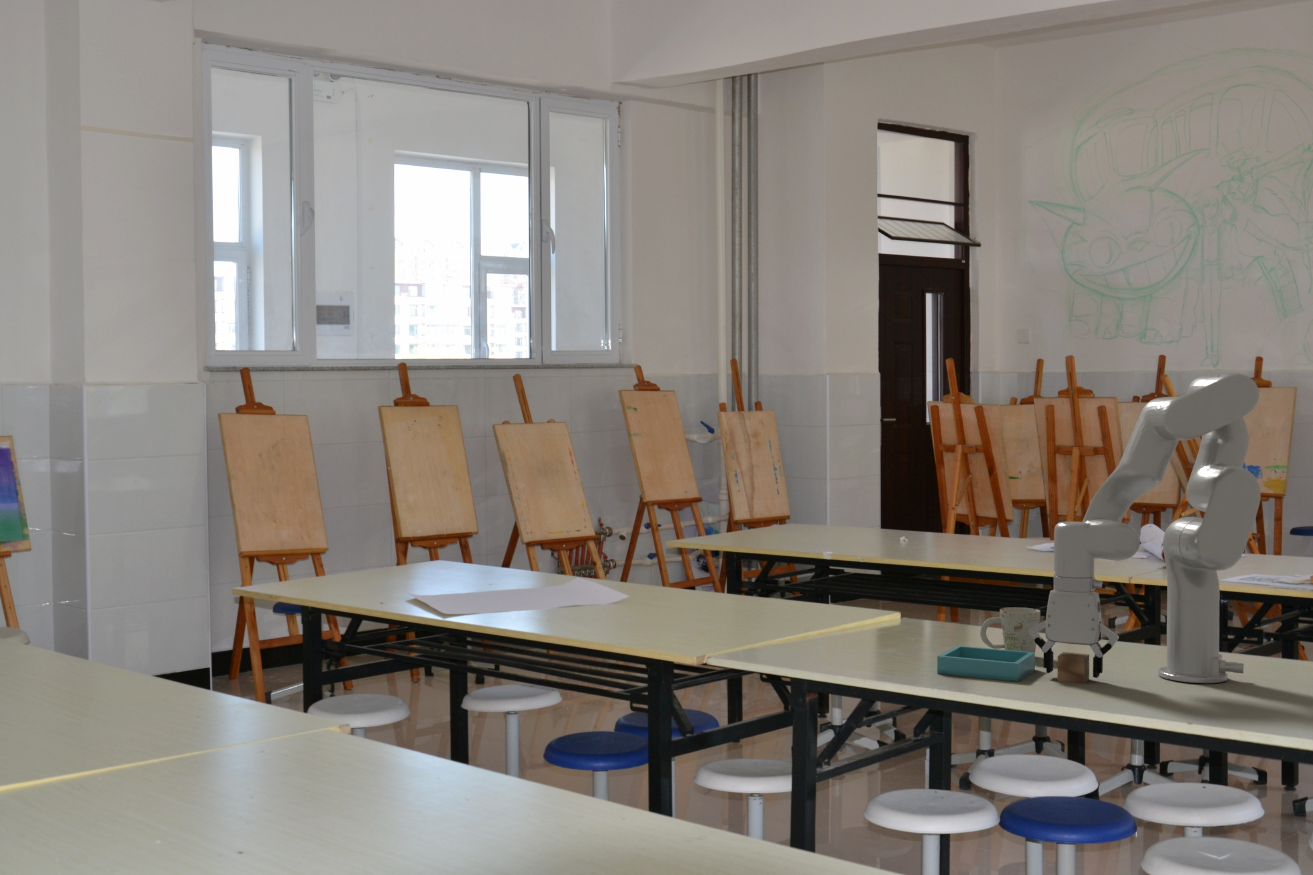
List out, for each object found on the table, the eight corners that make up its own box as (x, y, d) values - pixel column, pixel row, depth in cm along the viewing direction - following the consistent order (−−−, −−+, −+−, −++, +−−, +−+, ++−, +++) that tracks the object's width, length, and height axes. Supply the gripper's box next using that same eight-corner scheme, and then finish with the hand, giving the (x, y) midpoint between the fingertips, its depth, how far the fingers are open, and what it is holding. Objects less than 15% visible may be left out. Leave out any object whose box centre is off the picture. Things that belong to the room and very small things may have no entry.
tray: (1034, 669, 260) (1034, 652, 260) (1018, 681, 248) (1018, 663, 248) (957, 662, 268) (957, 645, 268) (937, 673, 256) (937, 656, 256)
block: (1089, 679, 251) (1089, 654, 250) (1084, 684, 246) (1084, 658, 246) (1062, 677, 253) (1063, 651, 253) (1057, 681, 249) (1057, 655, 249)
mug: (1044, 660, 270) (1045, 613, 270) (985, 660, 270) (985, 612, 270) (1034, 653, 279) (1034, 607, 278) (976, 652, 279) (976, 607, 279)
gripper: (1123, 586, 248) (1122, 675, 249) (1032, 580, 257) (1032, 666, 257) (1117, 590, 242) (1116, 682, 242) (1023, 584, 250) (1023, 672, 251)
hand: (1072, 673), depth 250 cm, fingers open, 8 cm apart
